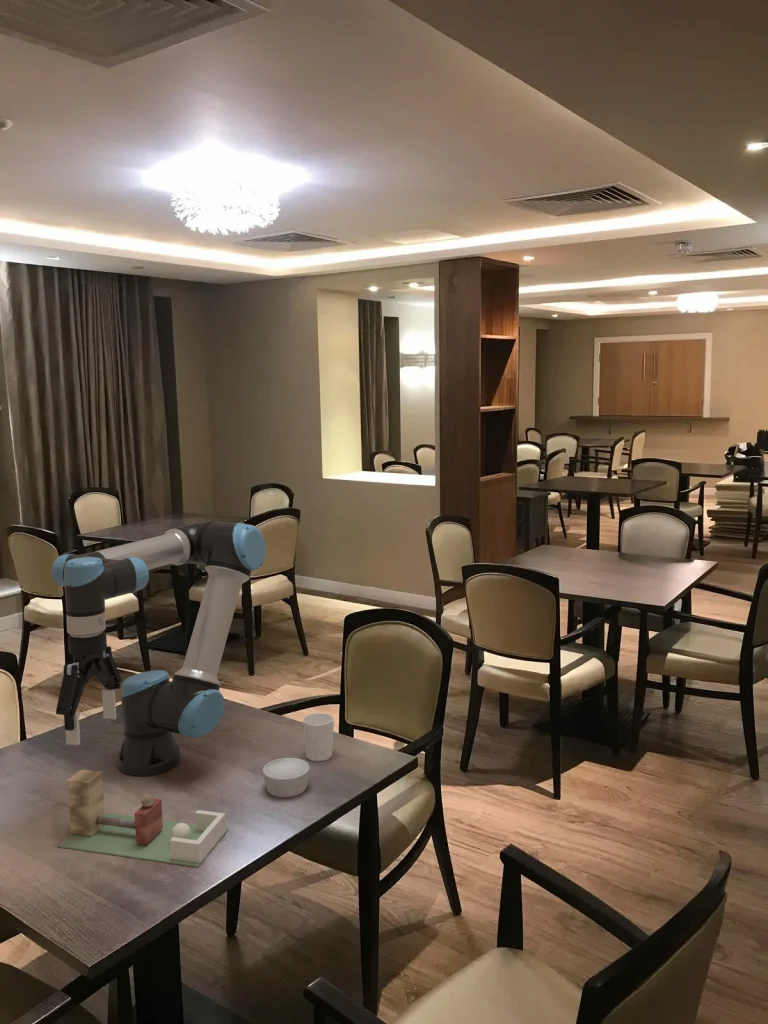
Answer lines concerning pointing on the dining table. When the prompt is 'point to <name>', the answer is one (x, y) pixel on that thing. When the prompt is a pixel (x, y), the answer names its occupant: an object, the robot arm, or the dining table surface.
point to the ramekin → (286, 777)
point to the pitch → (131, 842)
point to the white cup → (318, 736)
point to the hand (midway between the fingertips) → (92, 730)
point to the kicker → (91, 814)
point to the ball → (181, 831)
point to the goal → (201, 847)
